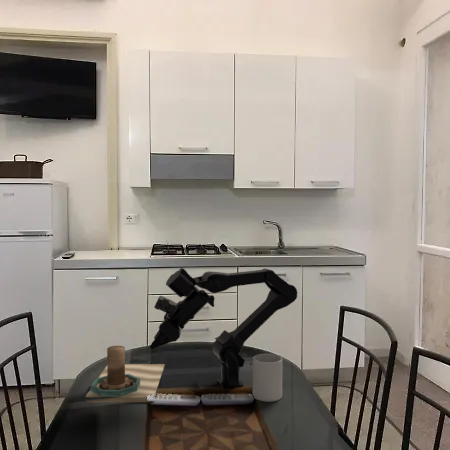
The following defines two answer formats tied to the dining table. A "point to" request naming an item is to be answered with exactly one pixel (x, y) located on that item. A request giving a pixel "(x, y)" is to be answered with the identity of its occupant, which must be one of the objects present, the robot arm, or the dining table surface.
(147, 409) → the dining table surface
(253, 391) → the mug
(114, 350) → the gear
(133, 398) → the gear board
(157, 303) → the robot arm
